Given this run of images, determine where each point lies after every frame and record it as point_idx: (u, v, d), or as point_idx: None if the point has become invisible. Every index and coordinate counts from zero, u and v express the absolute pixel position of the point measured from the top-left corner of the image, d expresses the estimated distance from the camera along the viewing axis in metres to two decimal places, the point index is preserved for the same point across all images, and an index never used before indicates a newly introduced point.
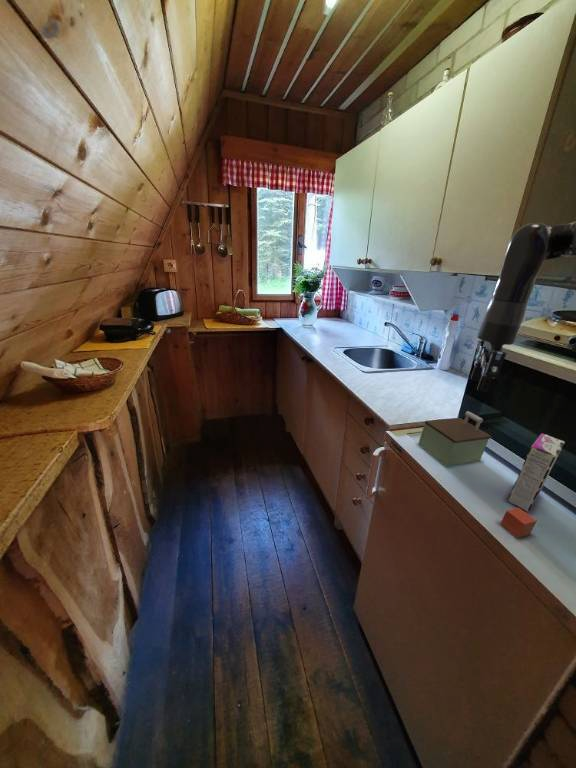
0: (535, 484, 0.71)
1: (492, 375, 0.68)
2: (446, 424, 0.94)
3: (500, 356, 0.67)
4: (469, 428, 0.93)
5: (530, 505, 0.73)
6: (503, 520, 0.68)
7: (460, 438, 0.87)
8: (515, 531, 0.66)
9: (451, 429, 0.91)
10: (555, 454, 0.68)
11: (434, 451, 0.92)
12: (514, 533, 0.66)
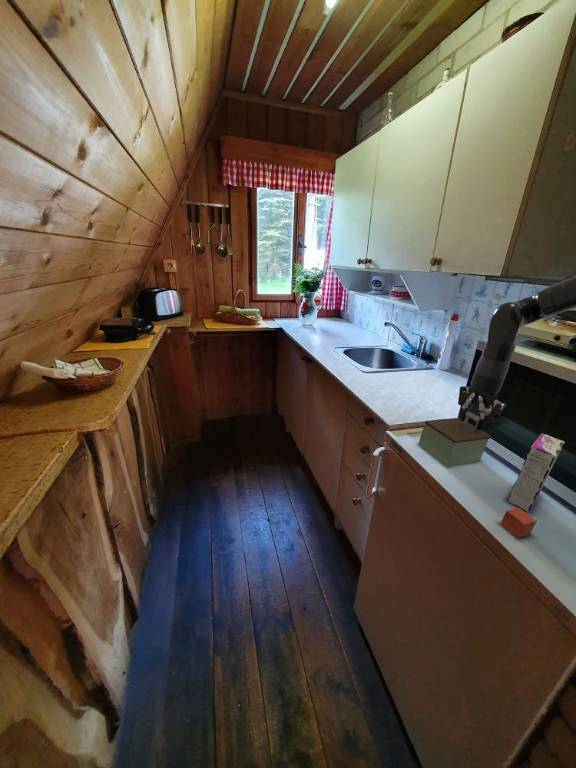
0: (535, 484, 0.71)
1: (493, 419, 0.87)
2: (446, 424, 0.94)
3: (502, 407, 0.85)
4: (469, 428, 0.93)
5: (530, 505, 0.73)
6: (503, 520, 0.68)
7: (460, 438, 0.87)
8: (515, 531, 0.66)
9: (451, 429, 0.91)
10: (555, 454, 0.68)
11: (434, 451, 0.92)
12: (514, 533, 0.66)
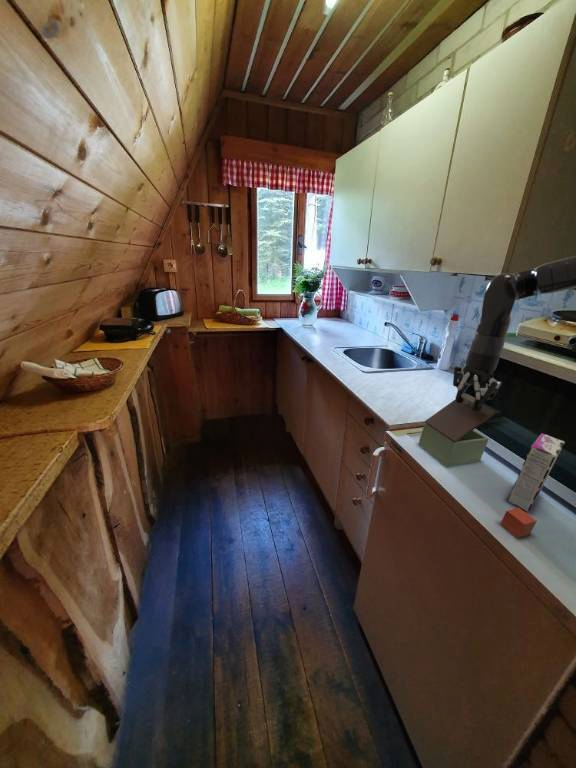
0: (535, 484, 0.71)
1: (489, 399, 0.83)
2: (446, 416, 0.93)
3: (498, 386, 0.81)
4: (471, 409, 0.90)
5: (530, 505, 0.73)
6: (503, 520, 0.68)
7: (460, 434, 0.86)
8: (515, 531, 0.66)
9: (451, 422, 0.90)
10: (555, 454, 0.68)
11: (434, 451, 0.92)
12: (514, 533, 0.66)
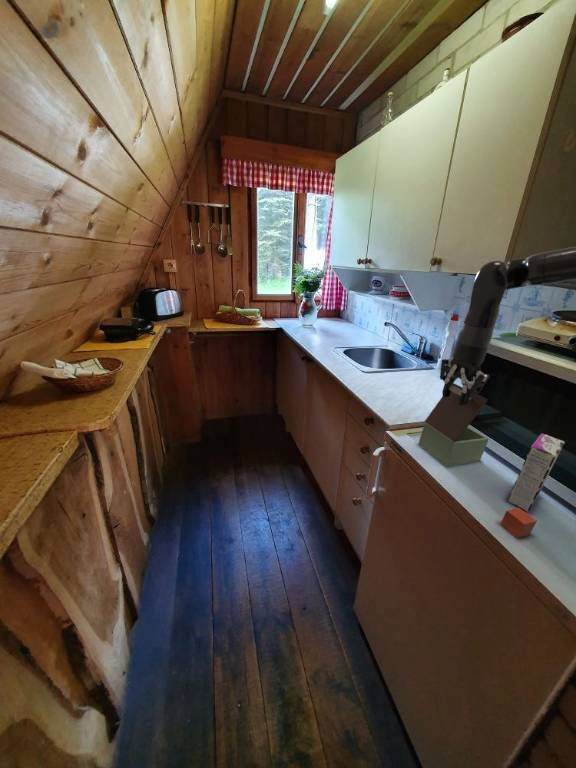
0: (535, 484, 0.71)
1: (476, 392, 0.80)
2: (442, 411, 0.91)
3: (485, 379, 0.78)
4: None
5: (530, 505, 0.73)
6: (503, 520, 0.68)
7: (458, 432, 0.85)
8: (515, 531, 0.66)
9: (448, 419, 0.89)
10: (555, 454, 0.68)
11: (434, 451, 0.92)
12: (514, 533, 0.66)
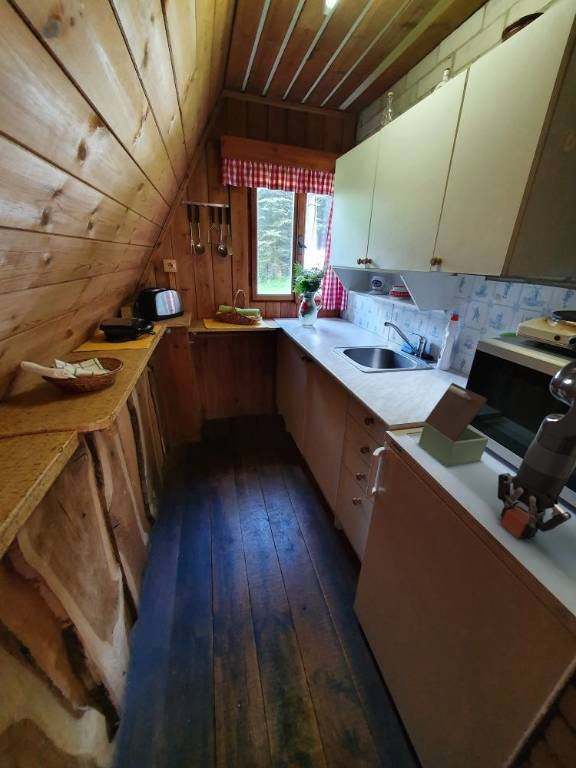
0: None
1: None
2: (442, 411, 0.91)
3: (565, 519, 0.59)
4: (463, 399, 0.87)
5: None
6: (503, 520, 0.68)
7: (457, 432, 0.85)
8: (515, 531, 0.66)
9: (448, 419, 0.89)
10: None
11: (434, 451, 0.92)
12: (514, 533, 0.66)
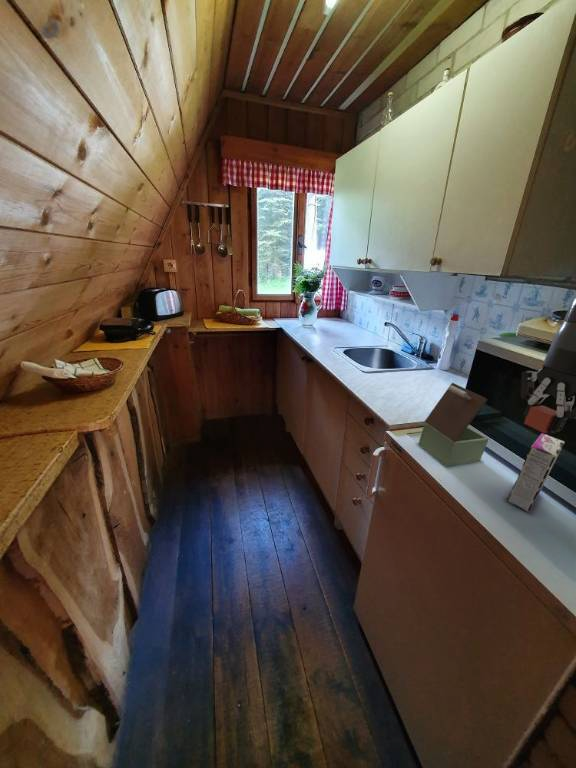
0: (535, 484, 0.71)
1: None
2: (442, 411, 0.91)
3: None
4: (463, 399, 0.87)
5: (530, 505, 0.73)
6: (527, 418, 0.65)
7: (457, 432, 0.85)
8: (541, 426, 0.62)
9: (448, 419, 0.89)
10: (555, 454, 0.68)
11: (434, 451, 0.92)
12: (540, 428, 0.62)
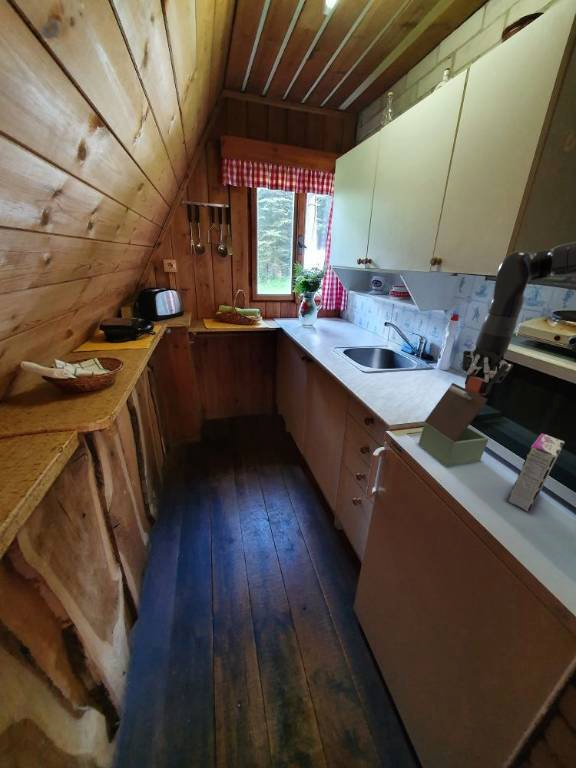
0: (535, 484, 0.71)
1: (498, 381, 0.82)
2: (442, 411, 0.91)
3: (509, 368, 0.80)
4: (464, 400, 0.87)
5: (530, 505, 0.73)
6: (467, 384, 0.89)
7: (458, 432, 0.85)
8: (475, 389, 0.86)
9: (448, 419, 0.89)
10: (555, 454, 0.68)
11: (434, 451, 0.92)
12: (474, 391, 0.87)
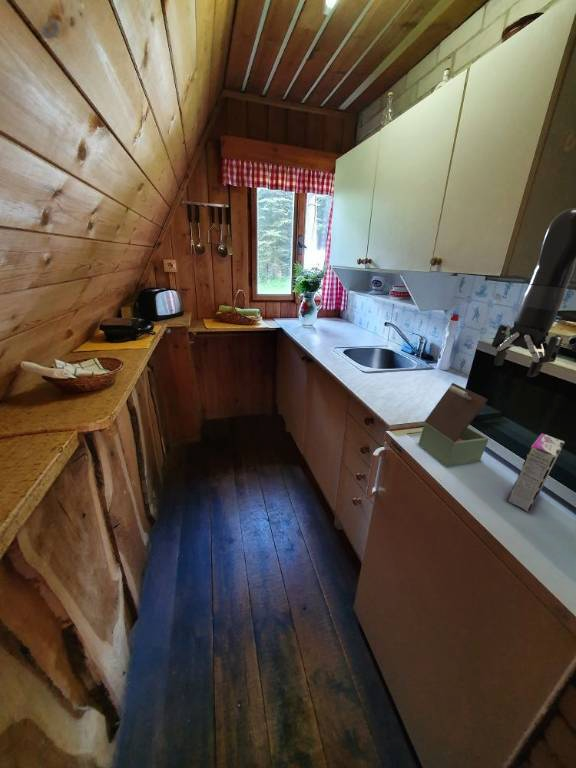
0: (535, 484, 0.71)
1: (551, 360, 0.70)
2: (442, 411, 0.91)
3: (559, 341, 0.69)
4: (464, 400, 0.87)
5: (530, 505, 0.73)
6: None
7: (458, 432, 0.85)
8: None
9: (448, 419, 0.89)
10: (555, 454, 0.68)
11: (434, 451, 0.92)
12: None
